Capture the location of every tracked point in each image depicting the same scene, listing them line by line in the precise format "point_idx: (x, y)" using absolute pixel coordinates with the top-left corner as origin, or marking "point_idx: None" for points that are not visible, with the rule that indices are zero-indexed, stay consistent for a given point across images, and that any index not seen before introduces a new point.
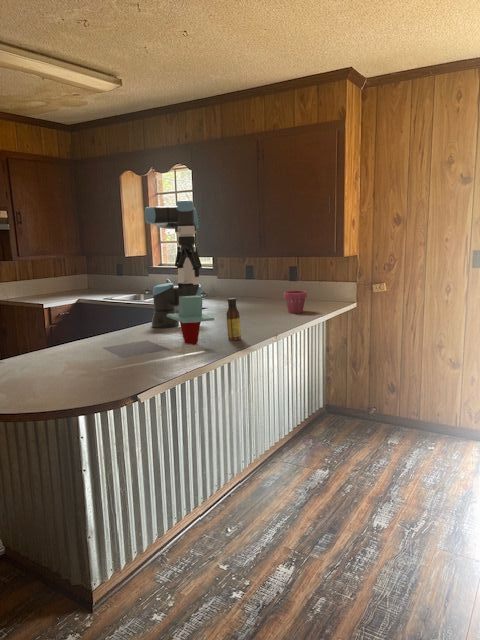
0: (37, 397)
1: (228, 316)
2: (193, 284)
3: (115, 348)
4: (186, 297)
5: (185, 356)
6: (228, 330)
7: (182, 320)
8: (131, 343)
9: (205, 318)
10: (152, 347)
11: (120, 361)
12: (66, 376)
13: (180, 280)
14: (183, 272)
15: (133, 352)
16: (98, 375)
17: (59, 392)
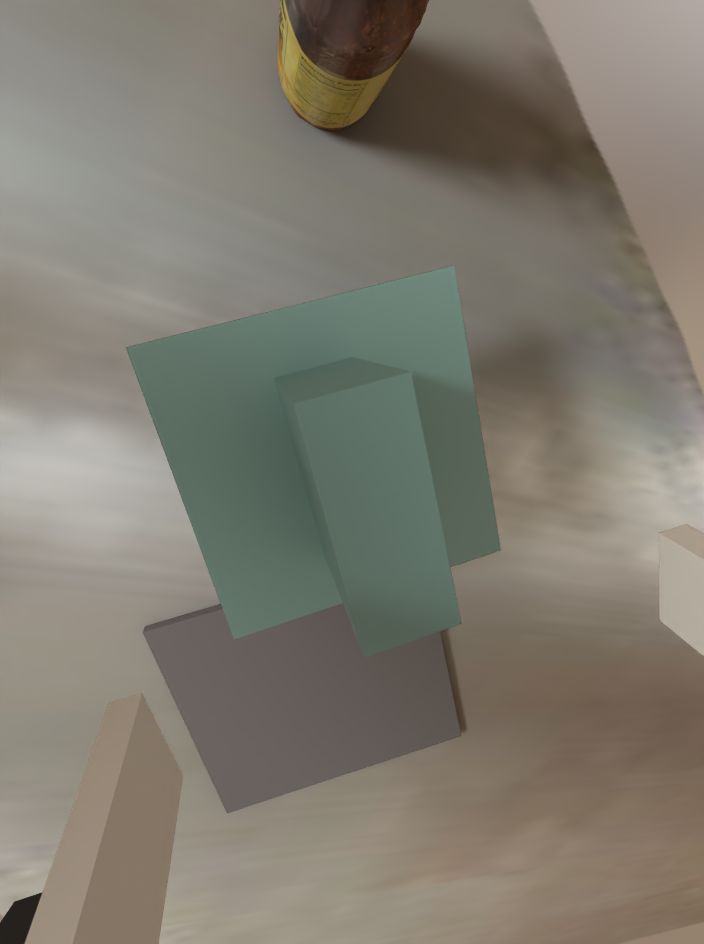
0: (690, 884)
1: (381, 61)
2: (668, 618)
3: (272, 765)
4: (447, 587)
5: (555, 501)
6: (346, 112)
7: (484, 553)
8: (191, 705)
9: (466, 359)
10: (337, 621)
11: (477, 736)
12: (557, 860)
13: (165, 786)
14: (87, 922)
15: (392, 700)
16: (605, 787)
17: (687, 851)
